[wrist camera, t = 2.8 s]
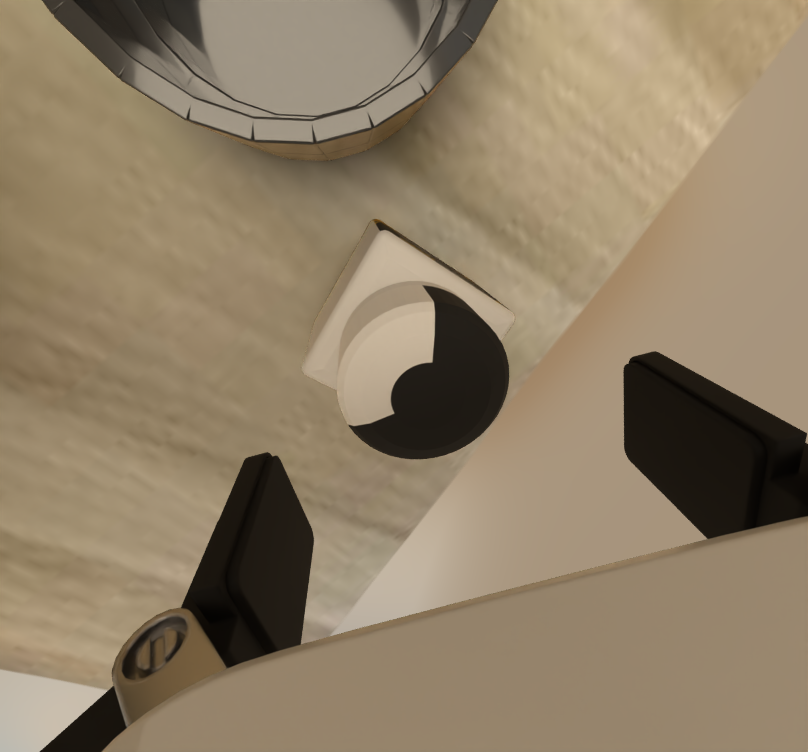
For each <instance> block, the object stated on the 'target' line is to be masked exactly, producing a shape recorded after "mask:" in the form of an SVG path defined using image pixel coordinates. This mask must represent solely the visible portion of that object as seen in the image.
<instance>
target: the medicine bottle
mask: <svg viewBox="0 0 808 752" xmlns="http://www.w3.org/2000/svg"><path fill="white" fill-rule="evenodd" d="M514 322H515V315H514V314H513V313H512V311H510V310H509V309H508V308H506V307H505V306H504V305H503V304H501V303H500V302H499V301H497V300H496V299H495V298H493V297H492V296H491V295H490V294H488V293H487V292H486V291H484V290H483V289H482V288H481V287H479V286H478V285H477V284H475V283H474V282H473V281H471V280H470V279H468V278H467V277H465V276H464V275H462V274H461V273H459V272H458V271H456V270H455V269H453V268H452V267H450V266H448V265H447V264H445V263H444V262H442V261H441V260H439V259H438V258H436V257H435V256H433V255H432V254H430V253H429V252H427V251H426V250H424V249H423V248H421V247H420V246H418V245H417V244H415V243H414V242H412V241H411V240H409V239H408V238H406V237H405V236H403V235H402V234H400V233H399V232H397V231H395V230H394V229H392V228H391V227H389V226H388V225H386V224H385V223H383V222H382V221H380V220H378V219H374V220H372V221H371V222H370V223H369V225H368V227H367V229H366V231H365V232H364V234H363V236H362V238H361V239H360V241H359V243H358V245H357V247H356V248H355V250H354V252H353V254H352V255H351V257H350V259H349V261H348V263H347V264H346V266H345V268H344V270H343V271H342V273H341V275H340V277H339V279H338V280H337V282H336V284H335V286H334V287H333V289H332V291H331V293H330V295H329V296H328V298H327V300H326V302H325V303H324V305H323V307H322V309H321V311H320V312H319V314H318V316H317V318H316V319H315V321H314V324H313V328H312V331H311V335H310V338H309V342H308V345H307V349H306V352H305V356H304V360H303V363H302V367H301V369H302V372H303V373H304V374H305V375H306V376H308V377H310V378H312V379H314V380H316V381H318V382H320V383H322V384H324V385H326V386H328V387H330V388H332V389H334V390H336V391H337V397H338V402H339V406H340V409H341V412H342V415H343V417H344V418H345V420H346V422H347V424H348V425H349V427H350V428H351V429H352V431H353V432H354V433H355V434H356V435H357V436H358V437H359V438H360V439H361V440H362V441H364V442H365V443H366V444H368V445H369V446H370V447H372V448H374V449H376V450H378V451H380V452H382V453H385V454H387V455H390V456H394V457H399V458H405V459H428V458H435V457H439V456H443V455H446V454H449V453H452V452H454V451H457V450H459V449H461V448H463V447H465V446H466V445H468V444H469V443H471V442H472V441H474V440H475V439H476V438H477V437H479V436H480V435H481V434H482V433H483V432H484V431H485V430H486V429H487V428H488V427H489V426H490V425H491V423H492V422H493V421H494V419H495V418H496V417H497V415H498V413H499V411H500V409H501V408H502V405H503V403H504V400H505V398H506V394H507V390H508V384H509V365H508V360H507V355H506V352H505V350H504V347H503V345H502V343H501V340H502V339H503V337H504V336H505V335H506V333H507V332H508V330H509V329H510V328H511V326H512V325H513V324H514Z"/></svg>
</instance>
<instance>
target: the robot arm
mask: <svg viewBox="0 0 808 752" xmlns="http://www.w3.org/2000/svg"><path fill="white" fill-rule="evenodd" d="M806 436H807V433H805V432H803V431H802V430H800V429H798V428H796V427H794V426H792V425H791V424H789V423H787V422H785V421H783V420H781V419H780V418H778V417H776V416H774V415H772V414H770V413H769V412H767V411H765V410H763V409H761V408H759V407H758V406H756V405H754V404H752V403H750V402H748V401H747V400H744V399H743V398H741V397H739V396H737V395H736V394H733V393H731V392H730V391H728V390H726V389H725V388H723V387H721V386H719V385H717V384H715V383H714V382H712V381H710V380H708V379H706V378H704V377H703V376H701V375H699V374H697V373H695V372H693V371H692V370H690V369H688V368H686V367H684V366H682V365H681V364H679V363H677V362H675V361H673V360H671V359H670V358H668V357H666V356H664V355H662V354H660V353H658V352H650V353H646V354H642V355H638V356H634V357H632V358H631V359H630V361H629V364H626V365H625V367H624V449H625V453H626V455H627V457H628V459H629V460H630V461H631V462H632V463H633V464H634V465H635V466H636V467H637V468H638V469H639V470H640V471H641V472H642V473H643V474H644V475H645V476H646V477H647V478H648V479H649V480H650V481H651V482H652V483H653V484H654V485H655V486H656V487H657V488H658V489H659V490H660V491H661V492H662V493H663V494H664V495H665V496H666V497H667V498H668V499H669V500H670V501H671V502H672V503H673V504H674V505H675V506H676V507H677V509H679V510H680V511H681V513H682V514H683V515H684V516H685V517H686V518H687V519H688V520H690V521H691V523H692V524H693V525H694V526H695V527H696V528H697V529H698V530H699V531H700V532H701V533H702V534H703V535H704V536H706V538H707V540H703V541H699V542H695V543H691V544H687V545H683V546H679V547H675V548H671V549H667V550H663V551H659V552H655V553H651V554H647V555H643V556H638V557H635V558H630V559H627V560H623V561H619V562H615V563H611V564H606V565H603V566H599V567H595V568H591V569H587V570H583V571H579V572H575V573H571V574H567V575H564V576H559V577H555V578H551V579H548V580H544V581H540V582H536V583H532V584H528V585H524V586H520V587H516V588H512V589H509V590H505V591H501V592H497V593H493V594H489V595H485V596H481V597H478V598H474V599H470V600H466V601H462V602H458V603H454V604H450V605H447V606H443V607H439V608H435V609H431V610H428V611H424V612H420V613H416V614H412V615H409V616H405V617H401V618H397V619H393V620H389V621H386V622H382V623H378V624H374V625H370V626H367V627H363V628H359V629H355V630H352V631H348V632H344V633H341V634H337V635H334V636H330V637H326V638H323V639H319V640H316V641H312V642H309V643H305V644H301V637H302V630H303V622H304V614H305V606H306V599H307V591H308V583H309V575H310V568H311V560H312V552H313V545H314V537H313V531H312V528H311V526H310V524H309V522H308V519H307V517H306V515H305V513H304V511H303V509H302V506H301V504H300V502H299V500H298V498H297V495H296V493H295V491H294V489H293V487H292V485H291V482H290V480H289V478H288V476H287V474H286V471H285V469H284V467H283V465H282V463H281V460H280V459H279V457H278V456H273V457H272V455H271V454H270V453H268V452H267V453H263V454H259V455H255V456H251V457H248V458H246V459H245V460H244V462H243V465H242V467H241V469H240V472H239V474H238V476H237V479H236V481H235V484H234V486H233V488H232V491H231V493H230V495H229V498H228V500H227V502H226V505H225V507H224V509H223V512H222V514H221V516H220V519H219V521H218V522H217V525H216V527H215V529H214V532H213V534H212V536H211V539H210V541H209V543H208V546H207V548H206V550H205V553H204V555H203V557H202V560H201V562H200V564H199V567H198V569H197V571H196V574H195V576H194V578H193V581H192V583H191V586H190V588H189V590H188V593H187V595H186V597H185V600H184V602H183V604H182V607H181V608H176V609H170V610H167V611H165V612H163V613H160V614H158V615H156V616H155V617H153V618H152V619H150V620H149V621H147V622H146V623H144V624H143V625H142V626H141V627H140V628H139V629H138V630H137V631H135V632H134V633H133V634H132V636H131V637H130V638H129V639H128V640H127V642H126V643H125V644H124V645H123V647H122V649H121V650H120V652H119V654H118V655H117V657H116V659H115V662H114V665H113V668H112V681H113V685H114V686H113V687H112V688H111V689H110V690H108V691H107V692H106V693H105V694H104V695H103V696H102V697H101V698H100V699H98V700H97V701H96V702H95V703H94V704H93V705H92V706H90V707H89V708H88V709H87V710H86V711H85V712H84V713H83V714H82V715H80V716H79V717H78V718H77V719H76V720H75V721H74V722H73V723H71V724H70V725H69V726H68V727H67V728H66V729H65V730H64V731H63V732H61V733H60V734H59V735H58V736H57V737H56V738H55V739H54V740H52V741H51V742H50V743H49V744H48V745H47V746H46V747H45V748H43V749H42V750H41V751H40V752H808V444H807V443H805V441H806Z"/></svg>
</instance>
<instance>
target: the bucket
mask: <svg viewBox="0 0 808 752" xmlns="http://www.w3.org/2000/svg"><path fill="white" fill-rule="evenodd" d="M42 1H43V2H44V4H45V5H46V7H47V8H48V9H49V11H50V12H51V13H52V14H53V15H54V17H55V18H56V19H57V20H58V21H59V22H60V23H61V24H62V25H63V26H64V27H65V28H66V29H67V30H68V31H69V32H70V33H71V34H72V35H74V36H75V37H76V38H77V39H78V40H79V41H80V42H81V43H82V44H83V45H84V46H85V47H86V48H87V49H88V50H89V51H90V52H91V53H92V54H94V55H95V56H96V57H97V58H98V59H99V60H100V61H101V62H102V63H103V64H104V65H105V66H106V67H107V68H108V69H109V70H110V71H111V72H112V73H114V74H115V75H116V76H117V77H118V78H120V79H121V81H123V82H124V83H126V84H128V85H129V86H131V87H133V88H134V89H136V90H137V91H139V92H141V93H142V94H144V95H145V96H147V97H149V98H150V99H152V100H154V101H155V102H157V103H158V104H160V105H162V106H163V107H165V108H167V109H168V110H170V111H171V112H173V113H175V114H176V115H178V116H179V117H181V118H183V119H184V120H186V121H189V122H191V123H193V124H196V125H198V126H201V127H203V128H206V129H208V130H211V131H213V132H215V133H218V134H220V135H223V136H225V137H228V138H230V139H233V140H235V141H238V142H240V143H243V144H245V145H248V146H250V147H253V148H256V149H259V150H262V151H265V152H268V153H271V154H274V155H278V156H281V157H284V158H287V159H291V160H319V161H328V160H334V159H338V158H342V157H345V156H349V155H353V154H357V153H360V152H364V151H366V150H369V149H370V148H372V147H373V146H375V145H377V144H378V143H380V142H381V141H383V140H385V139H386V138H388V137H389V136H391V135H393V134H394V133H396V132H398V131H399V130H400V129H401V128H402V127H403V126H404V125H405V124H406V123H407V122H408V120H409V119H410V118H411V117H412V116H413V115H414V114H415V113H416V112H417V111H418V109H419V108H420V107H421V106H422V105H423V104H424V103H425V102H426V101H427V100H428V98H429V97H430V96H431V95H432V94H433V92H434V91H435V90H436V89H437V88H438V86H439V85H440V84H441V83H442V82H443V81H444V79H445V78H446V77H447V76H448V75H449V73H450V72H451V71H452V70H453V69H454V67H455V66H456V65H457V64H458V63H459V62H460V60H461V59H462V58H463V57H464V56H465V54H466V53H467V52H468V51H469V50H470V48H471V47H472V45H473V44H474V43H475V41H476V40H477V38H478V36H479V34H480V32H481V30H482V29H483V27H484V25H485V23H486V21H487V19H488V18H489V16H490V14H491V12H492V10H493V8H494V7H495V5H496V3H497V1H498V0H42Z"/></svg>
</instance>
